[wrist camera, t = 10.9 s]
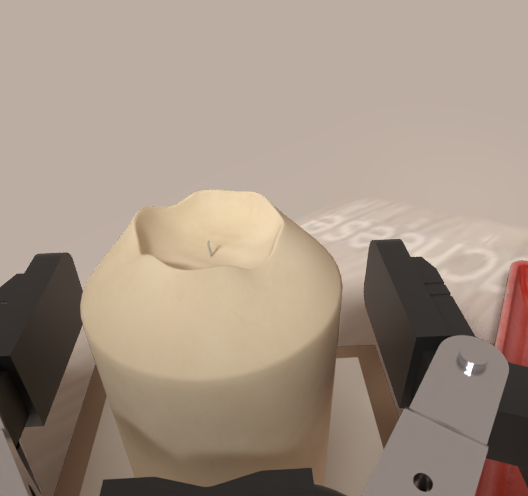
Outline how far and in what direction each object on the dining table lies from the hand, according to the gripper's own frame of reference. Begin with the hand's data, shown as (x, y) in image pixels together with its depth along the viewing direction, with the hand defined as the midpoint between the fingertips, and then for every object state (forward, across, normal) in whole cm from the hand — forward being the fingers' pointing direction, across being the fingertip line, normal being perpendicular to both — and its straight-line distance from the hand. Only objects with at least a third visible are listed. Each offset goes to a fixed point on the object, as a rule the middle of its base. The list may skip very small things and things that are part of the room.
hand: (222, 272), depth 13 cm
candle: (-2, 0, +7) cm, 8 cm away
